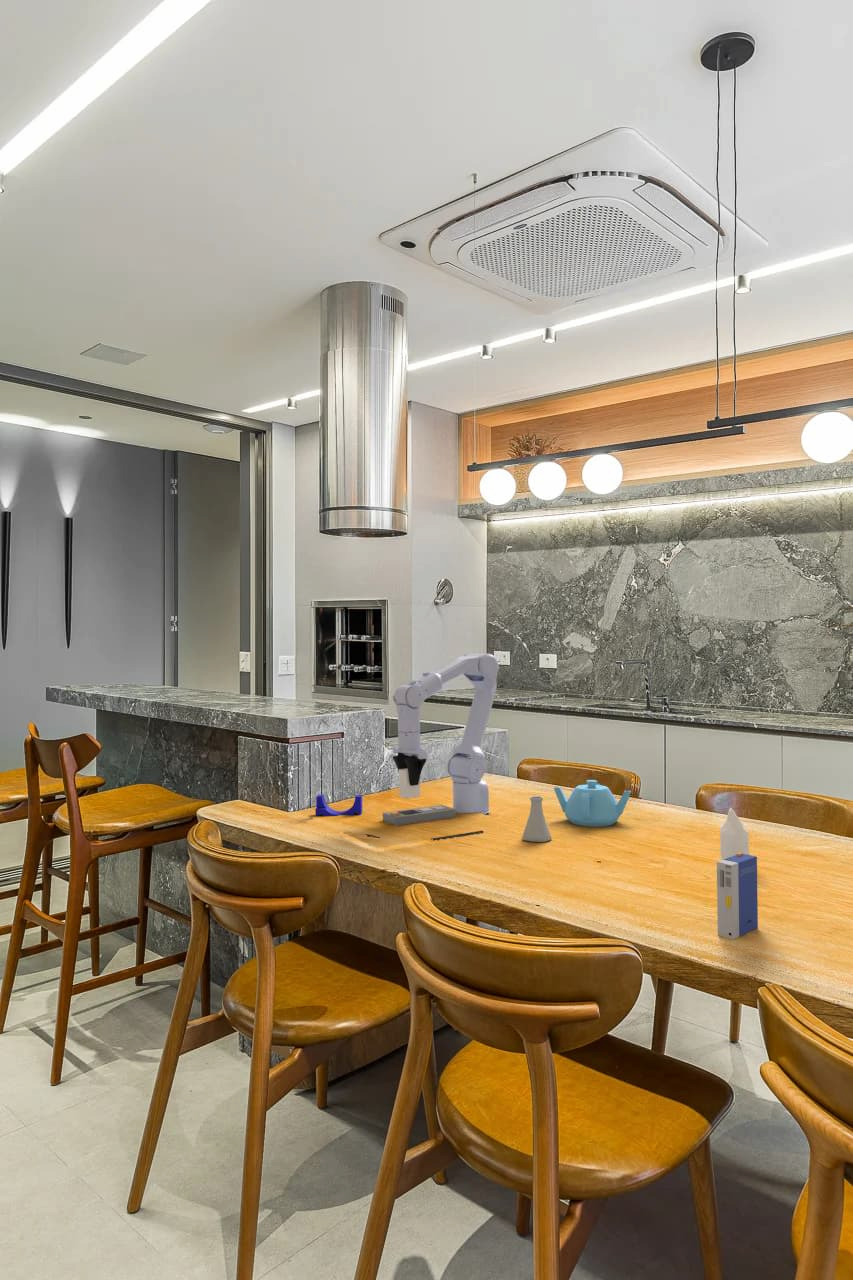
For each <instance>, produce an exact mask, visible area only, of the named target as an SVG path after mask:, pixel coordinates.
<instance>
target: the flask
mask: <svg viewBox="0 0 853 1280" xmlns="http://www.w3.org/2000/svg"><path fill="white" fill-rule="evenodd" d="M529 799H530V809H529V815H528V818H527V821H526V824H525V827H524V831H523V834H522V840H523V841H526V842H527V841H528V842H532V843H533V842H535V843H536V842H537V843H544V842H548V841H552V840H553V839H552V834H551V832H550V828H549V826H548V824H547V821H546V818H545V815H544V810H543V800H544V797H543V796H540V795H533V796H529Z"/></svg>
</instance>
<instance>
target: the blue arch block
mask: <svg viewBox="0 0 853 1280" xmlns="http://www.w3.org/2000/svg"><path fill="white" fill-rule="evenodd" d="M315 806H316V808H315V817H318V816H319V815H323V817H338V816H353V815H354V814H355V813H357V814H358V816H361V815H362V814H363V794H356V795H355V796H354V802H353V804H352V806H351V807H349V809H346V810H342V811H340V810H335V809H334V808H331V807H330V806H329V804H327V802H326V799H325V795H324V794H318V795H316V805H315Z"/></svg>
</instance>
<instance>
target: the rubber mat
mask: <svg viewBox="0 0 853 1280" xmlns="http://www.w3.org/2000/svg"><path fill="white" fill-rule="evenodd" d="M480 833H481V834H484V830H479V831H471V832H466V833H465V832H464V833H458V834H452V835H445V836H439V837H433V838H431V840H432V839H433V840H432V841H434V840H437V841H441V840H440V839H443V840H447V838H450V839H455V837H456V838H461V837H467V836H468V837H469V836H473V835H474V834H475V835H480Z"/></svg>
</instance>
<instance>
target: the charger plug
mask: <svg viewBox="0 0 853 1280" xmlns="http://www.w3.org/2000/svg"><path fill="white" fill-rule="evenodd" d="M398 797H400V798H404V799H414V798H421V778H420V779H419V783H418V785H413V786H411V785H410V783H409V775H408V769H407V768H406V769H399V771H398Z"/></svg>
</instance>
